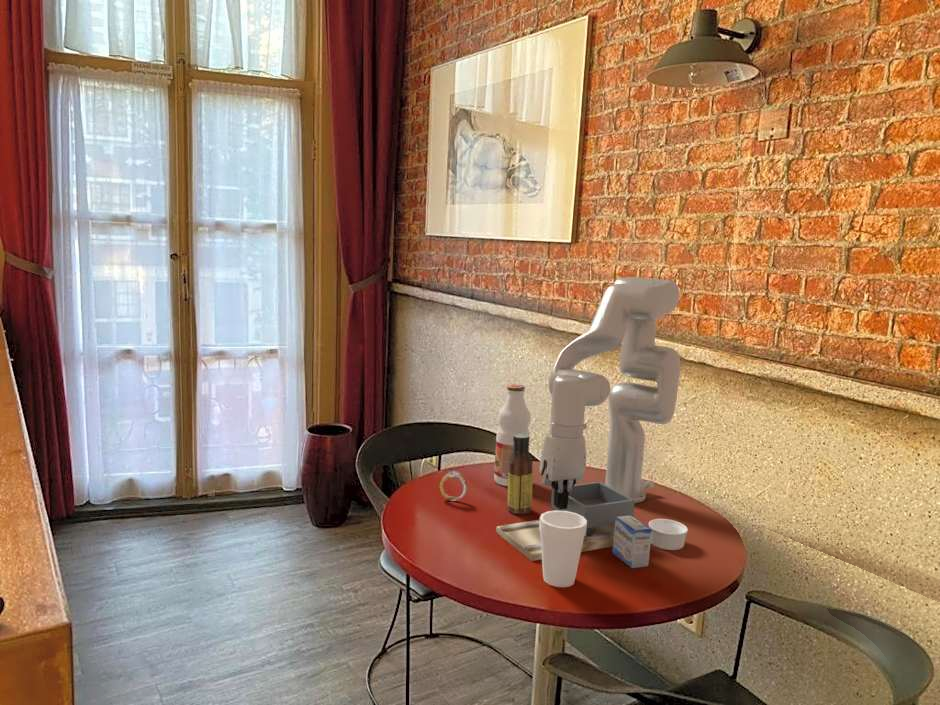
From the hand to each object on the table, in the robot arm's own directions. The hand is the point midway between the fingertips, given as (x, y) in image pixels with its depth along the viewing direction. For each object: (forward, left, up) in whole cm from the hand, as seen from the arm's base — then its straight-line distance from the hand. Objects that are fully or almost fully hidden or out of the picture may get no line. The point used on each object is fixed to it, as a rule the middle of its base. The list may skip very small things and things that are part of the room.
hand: (560, 507), depth 164 cm
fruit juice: (-9, -38, -8) cm, 40 cm away
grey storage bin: (-9, 0, -5) cm, 10 cm away
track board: (-3, 0, -8) cm, 8 cm away
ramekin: (-23, +11, -8) cm, 27 cm away
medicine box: (-9, +15, -8) cm, 19 cm away
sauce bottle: (0, -18, -8) cm, 20 cm away
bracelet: (+13, -30, -8) cm, 34 cm away
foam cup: (+11, +17, -8) cm, 22 cm away
